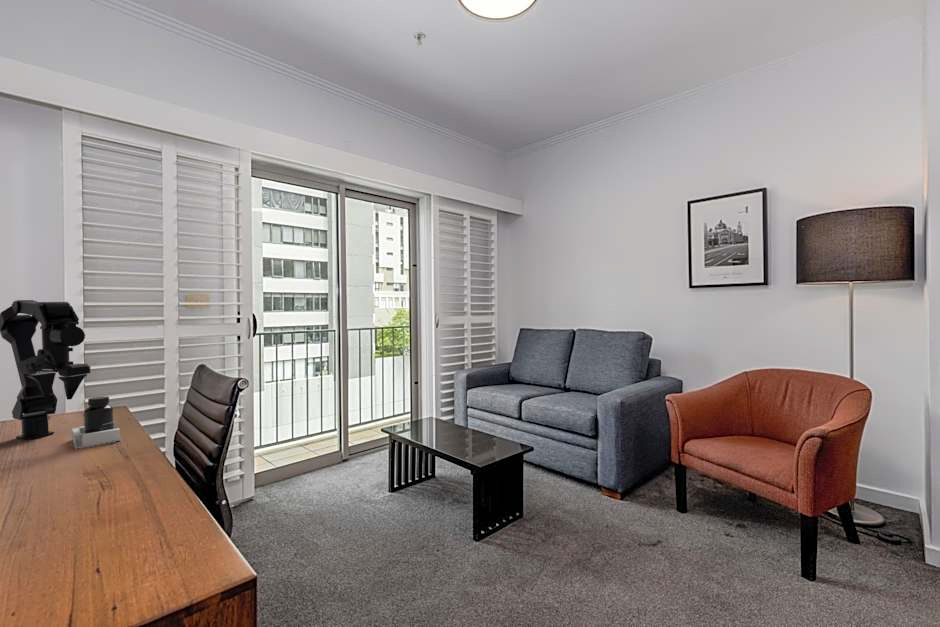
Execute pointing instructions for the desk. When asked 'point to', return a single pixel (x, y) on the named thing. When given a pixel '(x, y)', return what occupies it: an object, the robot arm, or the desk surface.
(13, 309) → the robot arm
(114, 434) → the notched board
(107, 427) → the supplement bottle
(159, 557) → the desk surface
